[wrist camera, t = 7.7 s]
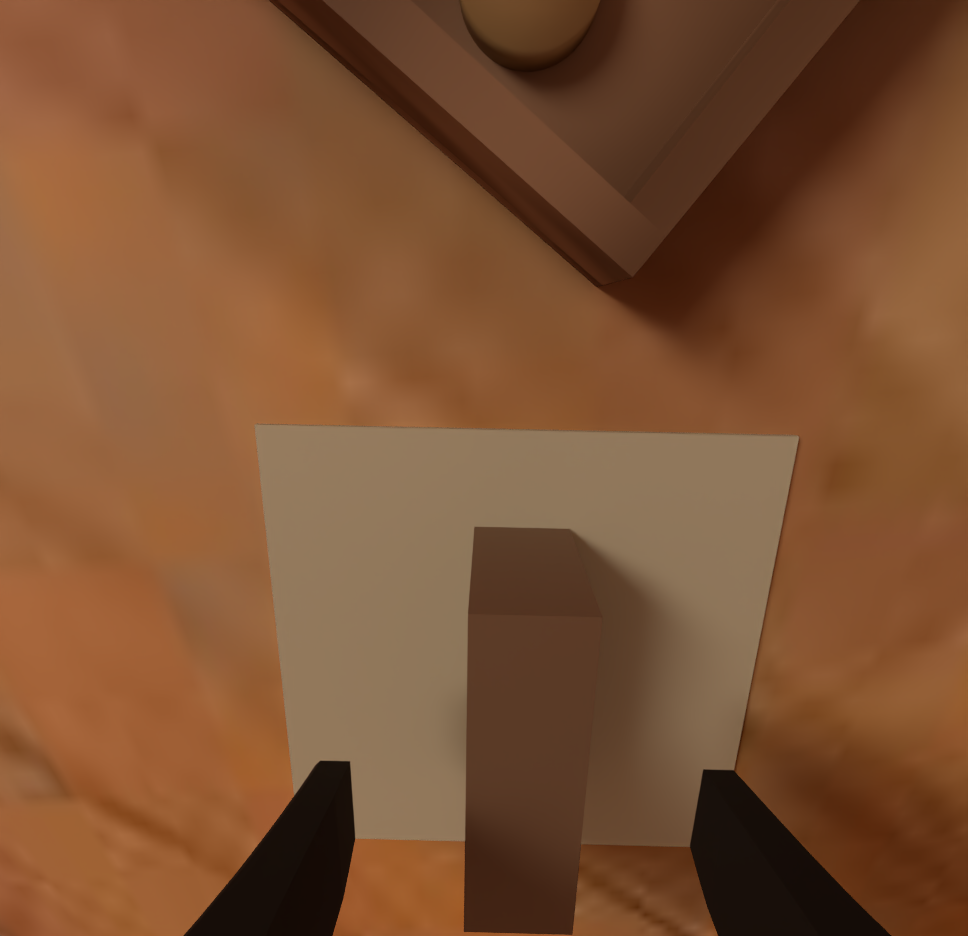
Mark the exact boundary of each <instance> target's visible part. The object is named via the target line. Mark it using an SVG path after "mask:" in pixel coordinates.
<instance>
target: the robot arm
mask: <svg viewBox="0 0 968 936" xmlns="http://www.w3.org/2000/svg"><path fill="white" fill-rule="evenodd" d="M354 842H355V825H354V810H353V796H352V781H351V766H350V761H319V762H318V763H317V764H316V765H315V766H314V768H313V769H312V771H311V772H310V774H309V775H308V777H307V778H306V780H305V781H304V783H303V784H302V785H301V787H300V788H299V790H298V791H297V793H296V794H295V796H294V797H293V798H292V800H291V801H290V803H289V804H288V806H287V807H286V808H285V810H284V811H283V812H282V814H281V815H280V817H279V818H278V819H277V821H276V822H275V823H274V825H273V826H272V827H271V829H270V830H269V831H268V833H267V834H266V835H265V837H264V838H263V839H262V841H261V842H260V843H259V844H258V846H257V847H256V848H255V850H254V851H253V852H252V854H251V855H250V856H249V858H248V859H247V860H246V861H245V863H244V864H243V865H242V867H241V868H240V869H239V870H238V872H237V873H236V874H235V875H234V877H233V878H232V879H231V880H230V881H229V883H228V884H227V885H226V886H225V887H224V889H223V890H222V891H221V892H220V893H219V895H218V896H217V897H216V898H215V899H214V901H213V902H212V903H211V904H210V905H209V907H208V908H207V909H206V910H205V911H204V913H203V914H202V915H201V916H200V917H199V919H198V920H197V921H196V922H195V923H194V924H193V925H192V927H191V928H190V929H189V930H188V931H187V932H186V933H185V935H184V936H332V935H333V932H334V928H335V925H336V922H337V918H338V915H339V911H340V908H341V904H342V901H343V897H344V892H345V887H346V882H347V877H348V873H349V867H350V862H351V857H352V852H353V847H354ZM690 848H691V851H692V855H693V859H694V862H695V866H696V870H697V873H698V877H699V880H700V884H701V887H702V890H703V894H704V897H705V901H706V904H707V907H708V910H709V913H710V915H711V918H712V921H713V923H714V926H715V928H716V931H717V934H718V936H891V935H890V934H889V933H888V932H887V931H886V930H885V929H884V928H883V927H882V926H881V925H880V924H879V923H877V922H876V921H875V920H874V919H873V918H872V917H871V916H870V915H869V914H868V913H867V912H866V911H865V910H864V909H863V908H862V907H861V906H860V905H859V904H858V903H857V902H856V901H855V900H854V899H853V898H852V897H851V896H850V895H849V894H848V893H847V892H846V891H845V890H844V889H843V888H842V887H841V886H840V885H839V884H838V882H837V881H836V880H835V879H834V878H833V877H832V876H831V875H830V874H829V873H828V872H827V871H826V870H825V869H824V868H823V867H822V866H821V865H820V864H819V863H818V862H817V861H816V860H815V858H814V857H813V856H812V855H811V854H810V853H809V852H808V851H807V850H806V849H805V848H804V847H803V846H802V845H801V844H800V843H799V841H798V840H797V839H796V838H795V837H794V836H793V835H792V834H791V833H790V832H789V831H788V829H787V828H786V827H785V826H784V825H783V824H782V823H781V822H780V821H779V820H778V819H777V817H776V816H775V815H774V814H773V813H772V812H771V811H770V810H769V809H768V808H767V806H766V805H765V804H764V803H763V802H762V801H761V800H760V799H759V798H758V797H757V795H756V794H755V793H754V792H753V791H752V790H751V789H750V788H749V787H748V786H747V784H746V783H745V782H744V781H743V780H742V779H741V778H740V777H739V776H738V775H737V774H736V772H735V771H734V770H709V769H703V773H702V779H701V785H700V791H699V796H698V802H697V808H696V813H695V819H694V825H693V830H692V836H691V842H690Z"/></svg>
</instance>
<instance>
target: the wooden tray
mask: <svg viewBox="0 0 968 936" xmlns="http://www.w3.org/2000/svg"><path fill="white" fill-rule="evenodd" d="M270 1H271V2H272V3H273V4H274V5H275V6H276V7H278V8H279V9H280V10H281V11H282V12H283V13H284V14H286V15H287V16H288V17H289V18H290V19H291V20H292V21H294V22H295V23H296V24H297V25H298V26H299V27H300V28H302V29H303V30H304V31H305V32H306V33H307V34H308V35H310V36H311V37H312V38H313V39H314V40H315V41H316V42H318V43H319V44H320V45H321V46H322V47H323V48H324V49H326V50H327V51H328V52H329V53H330V54H331V55H332V56H334V57H335V58H336V59H337V60H338V61H339V62H340V63H342V64H343V65H344V66H345V67H346V68H347V69H348V70H350V71H351V72H352V73H353V74H354V75H355V76H356V77H358V78H359V79H360V80H361V81H362V82H363V83H364V84H366V85H367V86H368V87H369V88H370V89H371V90H372V91H374V92H375V93H376V94H377V95H378V96H379V97H380V98H382V99H383V100H384V101H385V102H386V103H387V104H388V105H390V106H391V107H392V108H393V109H394V110H395V111H396V112H398V113H399V114H400V115H401V116H402V117H403V118H404V119H406V120H407V121H408V122H409V123H410V124H411V125H412V126H414V127H415V128H416V129H417V130H418V131H419V132H420V133H422V134H423V135H424V136H425V137H426V138H427V139H428V140H430V141H431V142H432V143H433V144H434V145H435V146H436V147H438V148H439V149H440V150H441V151H442V152H443V153H444V154H446V155H447V156H448V157H449V158H450V159H451V160H452V161H454V162H455V163H456V164H457V165H458V166H459V167H460V168H462V169H463V170H464V171H465V172H466V173H467V174H468V175H470V176H471V177H472V178H473V179H474V180H475V181H476V182H478V183H479V184H480V185H481V186H482V187H483V188H484V189H486V190H487V191H488V192H489V193H490V194H491V195H492V196H494V197H495V198H496V199H497V200H498V201H499V202H500V203H502V204H503V205H504V206H505V207H506V208H507V209H508V210H510V211H511V212H512V213H513V214H514V215H515V216H516V217H518V218H519V219H520V220H521V221H522V222H523V223H524V224H526V225H527V226H528V227H529V228H530V229H531V230H532V231H534V232H535V233H536V234H537V235H538V236H539V237H540V238H542V239H543V240H544V241H545V242H546V243H547V244H548V245H550V246H551V247H552V248H553V249H554V250H555V251H556V252H558V253H559V254H560V255H561V256H562V257H563V258H564V259H566V260H567V261H568V262H569V263H570V264H571V265H572V266H573V267H575V268H576V269H577V270H578V271H579V272H580V273H581V274H583V275H584V276H585V277H586V278H587V279H588V280H589V281H591V282H592V283H593V284H594V285H595V286H596V287H598V286H602V285H606V284H610V283H613V282H617V281H621V280H625V279H629V278H632V277H633V276H634V275H635V274H636V273H637V272H638V270H639V269H640V268H641V267H642V265H643V264H644V263H645V262H646V261H647V259H648V258H649V257H650V256H651V254H652V253H653V252H654V251H655V250H656V248H657V247H658V246H659V245H660V244H661V242H662V241H663V240H664V239H665V237H666V236H667V235H668V234H669V233H670V231H671V230H672V229H673V228H674V226H675V225H676V224H677V223H678V222H679V220H680V219H681V218H682V217H683V215H684V214H685V213H686V212H687V211H688V209H689V208H690V207H691V206H692V204H693V203H694V202H695V201H696V200H697V198H698V197H699V196H700V195H701V194H702V192H703V191H704V190H705V189H706V187H707V186H708V185H709V184H710V183H711V181H712V180H713V179H714V178H715V176H716V175H717V174H718V173H719V172H720V170H721V169H722V168H723V167H724V165H725V164H726V163H727V162H728V161H729V159H730V158H731V157H732V156H733V154H734V153H735V152H736V151H737V150H738V148H739V147H740V146H741V145H742V143H743V142H744V141H745V140H746V139H747V137H748V136H749V135H750V134H751V133H752V131H753V130H754V129H755V128H756V126H757V125H758V124H759V123H760V122H761V120H762V119H763V118H764V117H765V115H766V114H767V113H768V112H769V111H770V109H771V108H772V107H773V106H774V104H775V103H776V102H777V101H778V100H779V98H780V97H781V96H782V95H783V93H784V92H785V91H786V90H787V89H788V87H789V86H790V85H791V84H792V83H793V81H794V80H795V79H796V78H797V76H798V75H799V74H800V73H801V72H802V70H803V69H804V68H805V67H806V65H807V64H808V63H809V62H810V61H811V59H812V58H813V57H814V56H815V54H816V53H817V52H818V51H819V50H820V48H821V47H822V46H823V45H824V43H825V42H826V41H827V40H828V39H829V37H830V36H831V35H832V34H833V33H834V31H835V30H836V29H837V28H838V26H839V25H840V24H841V23H842V22H843V20H844V19H845V18H846V17H847V15H848V14H849V13H850V12H851V11H852V9H853V8H854V7H855V6H856V4H857V3H858V2H859V1H860V0H270Z"/></svg>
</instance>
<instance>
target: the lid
mask: <svg viewBox="0 0 968 936" xmlns="http://www.w3.org/2000/svg"><path fill="white" fill-rule="evenodd" d="M255 434H256V443H257V452H258V462H259V471H260V480H261V490H262V499H263V508H264V518H265V527H266V536H267V546H268V555H269V565H270V574H271V583H272V593H273V602H274V611H275V621H276V630H277V639H278V649H279V658H280V667H281V677H282V686H283V695H284V705H285V714H286V724H287V733H288V742H289V752H290V761H291V770H292V780H293V789H294V796H295V794H296V793H297V791H298V790H299V788H300V787H301V785H302V784H303V783H304V781H305V780H306V778H307V777H308V775H309V774H310V772H311V771H312V769H313V768H314V766H315V765H316V764H317V763H318V762H319V761H350V766H351V781H352V796H353V810H354V825H355V838H357V839H396V840H435V841H465V889H464V932H491V933H529V934H566V935H572V933H573V922H574V912H575V902H576V891H577V881H578V870H579V860H580V849H581V844H591V845H630V846H669V847H690V842H691V836H692V830H693V825H694V819H695V813H696V808H697V802H698V796H699V791H700V785H701V779H702V773H703V769H709V770H734V768H735V763H736V758H737V752H738V747H739V742H740V737H741V732H742V727H743V722H744V717H745V711H746V706H747V701H748V696H749V691H750V686H751V681H752V676H753V671H754V665H755V660H756V655H757V650H758V645H759V640H760V635H761V630H762V624H763V619H764V614H765V609H766V604H767V599H768V594H769V589H770V584H771V578H772V573H773V568H774V563H775V558H776V553H777V548H778V543H779V537H780V532H781V527H782V522H783V517H784V512H785V507H786V502H787V497H788V491H789V486H790V481H791V476H792V471H793V466H794V461H795V456H796V450H797V445H798V440H799V436H797V435H771V434H723V433H676V432H629V431H581V430H534V429H487V428H439V427H392V426H345V425H298V424H255Z"/></svg>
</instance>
